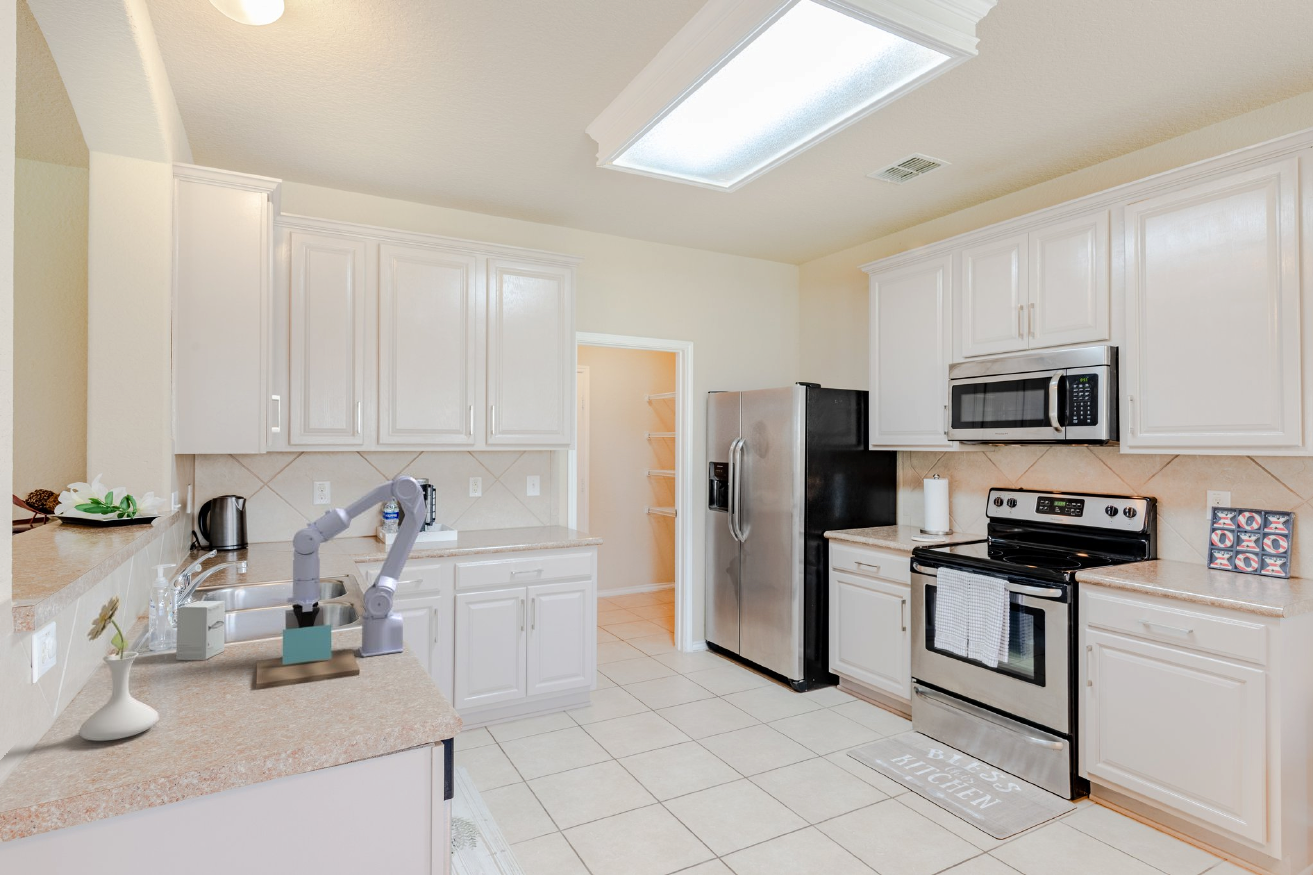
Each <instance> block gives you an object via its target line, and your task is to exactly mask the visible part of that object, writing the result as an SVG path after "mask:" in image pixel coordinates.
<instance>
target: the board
mask: <svg viewBox="0 0 1313 875" xmlns="http://www.w3.org/2000/svg"><path fill="white" fill-rule="evenodd" d="M256 662H257V663H256V690H261V689H263V690H264V689H271V688H276V687H284V686H291V685H296V684H303V683H311V682H318V681H325V680H324V679H326V680H332V679H333V680H334V679H339V678H347V677H352V676H359V674H360V673H361V672H360V667H359V664H358V663H357V660H356V657H355V654H354V652H353V651H352V648H346V649H345V648H344V649H337V650H331V658H330V659H323V660H315V661H307V662H300V663H292V664H284V665H283V656H282V657H272V658H267V659H259V660H256Z"/></svg>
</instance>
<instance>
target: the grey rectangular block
mask: <svg viewBox="0 0 1313 875" xmlns="http://www.w3.org/2000/svg"><path fill="white" fill-rule="evenodd" d="M312 608H320V610H319V613H318V614H317V616H316V619H315V622H314V626H323V625H325V624H324V619H325V618H324V607H323V606H322V605H321V606H320V605H319V606H317V607H312ZM284 617H285V618H284V619H285V630H286V629H295V628H299V624H298V621H297V618H296V616H295V614H294V612H293V609H286V610H285V616H284Z"/></svg>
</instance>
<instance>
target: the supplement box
mask: <svg viewBox="0 0 1313 875" xmlns="http://www.w3.org/2000/svg"><path fill="white" fill-rule="evenodd" d="M176 617H177V618H176V648H175V649H176V650H175V651H176V654H175V656H176V658H175V659H176V661H177V660H179V661H207V660H208V659H210V658H212V657H214V656H216V655H218V654H221V653H223V652H225V635H226V634H225V633H226V631H225V630H226V629H225V628H226V626H225V625H226V623H225V622H226V601H225V600H197V601H194V602H190V603H187V604H183V605H181V606H178V607H177V608H176Z"/></svg>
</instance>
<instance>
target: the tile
mask: <svg viewBox="0 0 1313 875" xmlns="http://www.w3.org/2000/svg"><path fill="white" fill-rule="evenodd" d="M331 651H332V624H324V625H323V626H314V627H304V628H295V629H286V628H285V629H282V657H283V665H284V664H292V663H300V662H307V661H315V660H323V659H330V658H331Z"/></svg>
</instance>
